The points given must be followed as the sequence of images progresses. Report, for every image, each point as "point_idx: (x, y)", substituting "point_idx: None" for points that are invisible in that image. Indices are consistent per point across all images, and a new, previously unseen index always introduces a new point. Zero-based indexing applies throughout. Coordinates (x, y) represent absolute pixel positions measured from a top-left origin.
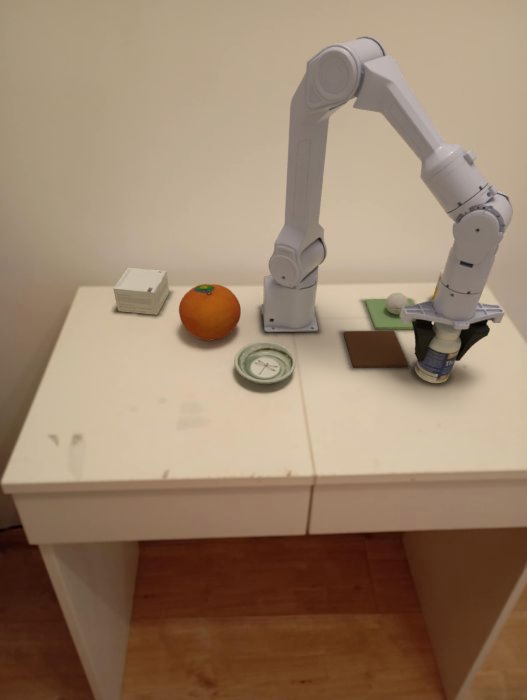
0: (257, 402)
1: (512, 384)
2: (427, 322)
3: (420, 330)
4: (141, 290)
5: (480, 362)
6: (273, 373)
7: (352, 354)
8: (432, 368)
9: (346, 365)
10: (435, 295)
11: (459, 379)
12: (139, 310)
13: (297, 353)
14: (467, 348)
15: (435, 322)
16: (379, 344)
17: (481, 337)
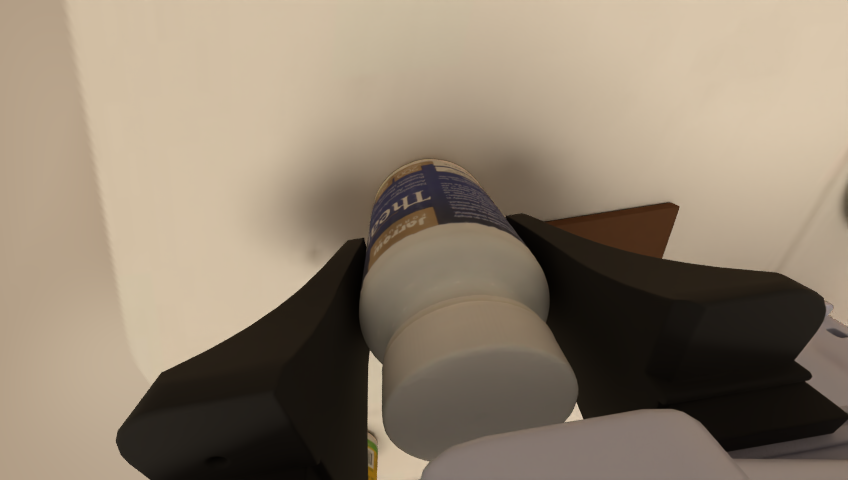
0: None
1: (136, 192)
2: (733, 419)
3: (808, 327)
4: None
5: (258, 280)
6: None
7: (659, 251)
8: (469, 184)
9: (684, 210)
10: (375, 472)
11: (335, 193)
12: None
13: (794, 239)
14: (323, 278)
15: (563, 419)
16: None
17: (224, 348)
